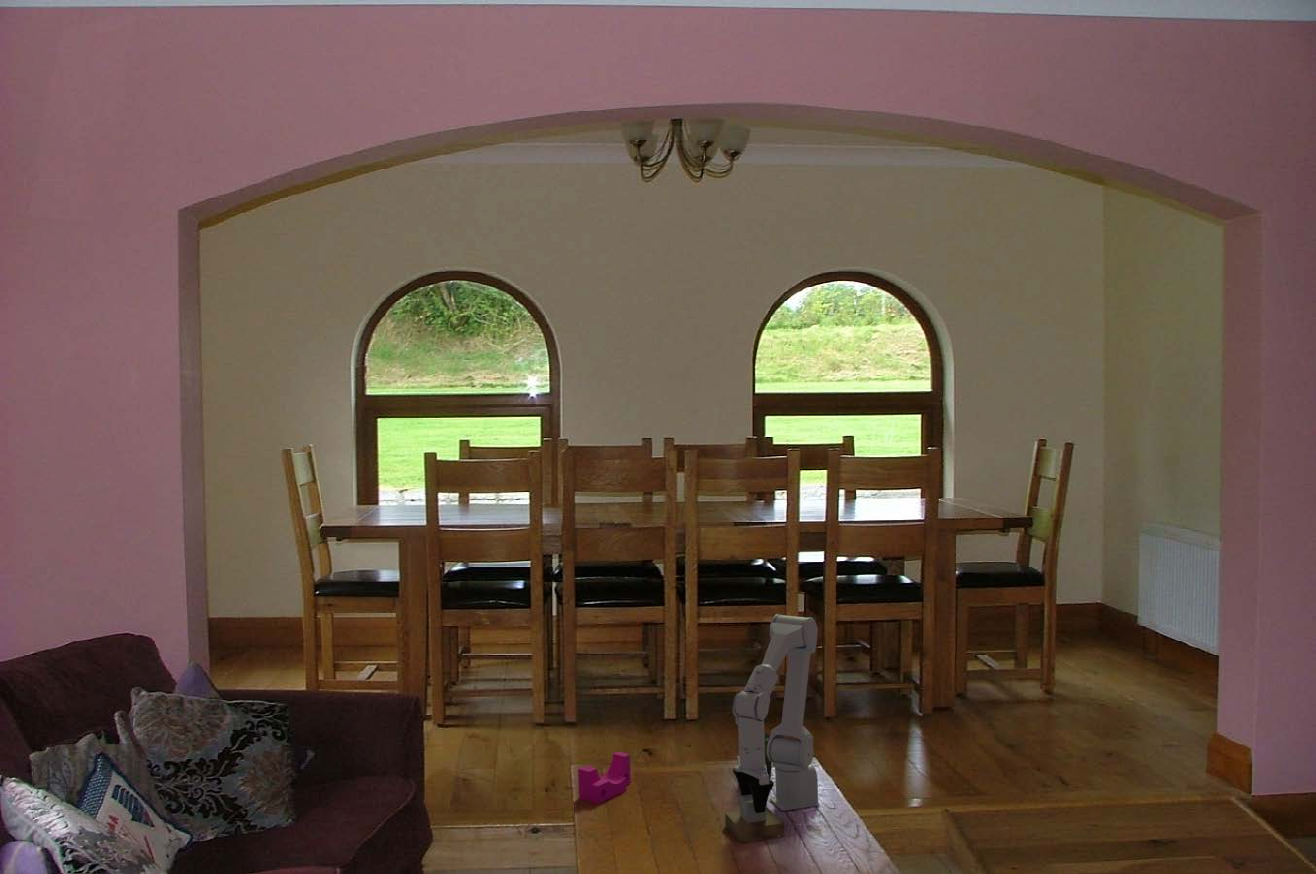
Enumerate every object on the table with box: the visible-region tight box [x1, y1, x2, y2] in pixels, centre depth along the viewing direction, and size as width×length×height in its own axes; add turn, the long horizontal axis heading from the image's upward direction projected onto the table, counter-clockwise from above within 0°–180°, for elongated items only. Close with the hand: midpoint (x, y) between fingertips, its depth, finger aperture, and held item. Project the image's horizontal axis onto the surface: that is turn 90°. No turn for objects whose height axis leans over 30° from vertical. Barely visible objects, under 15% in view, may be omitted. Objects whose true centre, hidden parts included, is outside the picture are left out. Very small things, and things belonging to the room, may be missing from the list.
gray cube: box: [739, 794, 766, 823], centre depth 268 cm, size 4×4×4 cm
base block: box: [724, 806, 785, 844], centre depth 268 cm, size 10×10×3 cm
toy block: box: [577, 751, 632, 804], centre depth 296 cm, size 15×6×8 cm, turn 141°
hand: (753, 806), depth 268 cm, fingers open, 7 cm apart
